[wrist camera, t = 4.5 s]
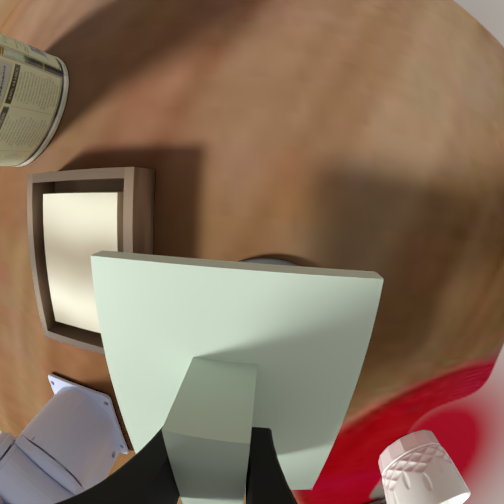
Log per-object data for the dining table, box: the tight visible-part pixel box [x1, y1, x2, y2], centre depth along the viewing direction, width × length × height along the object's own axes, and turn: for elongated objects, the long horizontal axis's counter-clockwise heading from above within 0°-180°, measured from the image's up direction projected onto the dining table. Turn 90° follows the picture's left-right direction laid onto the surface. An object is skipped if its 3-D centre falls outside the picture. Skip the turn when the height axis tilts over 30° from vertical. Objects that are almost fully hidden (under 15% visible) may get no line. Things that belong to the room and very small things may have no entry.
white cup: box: [378, 430, 471, 504], centre depth 16 cm, size 8×8×10 cm
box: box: [27, 167, 156, 355], centre depth 16 cm, size 12×9×3 cm
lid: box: [91, 250, 384, 504], centre depth 8 cm, size 13×10×4 cm
